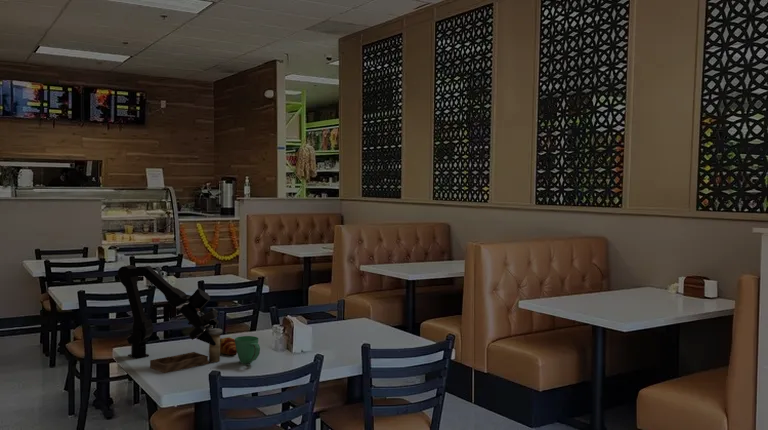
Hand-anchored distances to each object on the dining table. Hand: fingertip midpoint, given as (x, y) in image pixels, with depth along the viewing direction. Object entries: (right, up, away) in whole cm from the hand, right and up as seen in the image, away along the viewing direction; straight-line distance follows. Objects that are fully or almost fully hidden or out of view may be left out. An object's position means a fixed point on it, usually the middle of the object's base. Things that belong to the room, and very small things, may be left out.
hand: (217, 343), depth 277 cm
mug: (+14, -8, -2) cm, 16 cm away
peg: (-2, -8, +1) cm, 8 cm away
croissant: (0, -7, +18) cm, 19 cm away
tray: (-14, -8, -8) cm, 17 cm away
